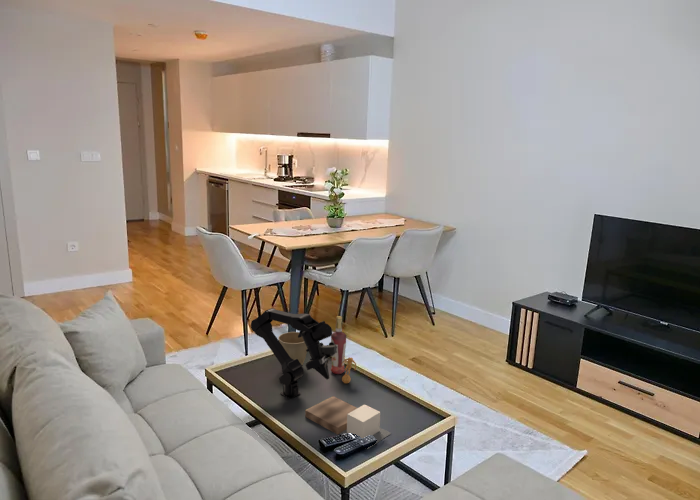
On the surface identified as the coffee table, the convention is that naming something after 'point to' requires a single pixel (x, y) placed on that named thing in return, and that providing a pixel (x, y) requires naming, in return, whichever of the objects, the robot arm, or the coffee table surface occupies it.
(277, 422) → the coffee table surface
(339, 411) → the walnut board
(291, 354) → the plant pot
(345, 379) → the figurine
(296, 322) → the robot arm
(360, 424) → the beige block
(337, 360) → the liquor
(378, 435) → the mat
